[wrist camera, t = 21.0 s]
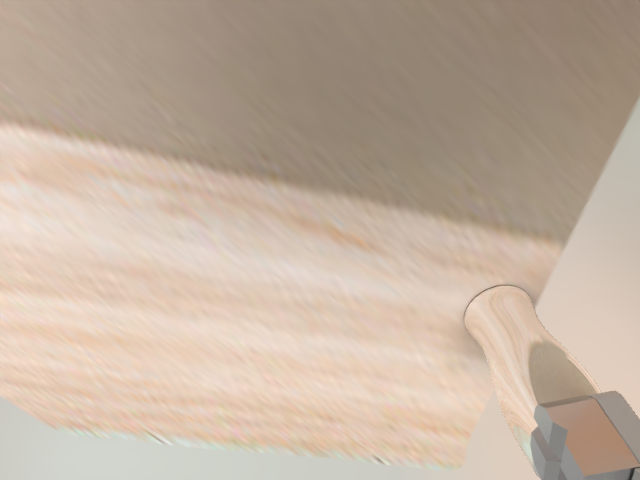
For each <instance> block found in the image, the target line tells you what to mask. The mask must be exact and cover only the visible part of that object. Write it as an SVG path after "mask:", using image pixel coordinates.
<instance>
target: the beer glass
mask: <svg viewBox="0 0 640 480" xmlns="http://www.w3.org/2000/svg"><path fill="white" fill-rule="evenodd" d="M464 323H465V326H466V329H467V330H468V332H469V333H470V334H471V336H472V337H473V338H474V339H475V340H476V341H477V342H478V344H479V345H480V346H481V348H482V349H483V351H484V353H485V356H486V358H487V361H488V365H489V368H490V372H491V376H492V380H493V384H494V388H495V392H496V395H497V398H498V401H499V404H500V407H501V410H502V413H503V415H504V417H505V419H506V421H507V424H508V426H509V428H510V430H511V431H512V433H513V435H514V437H515V439H516V441H517V442H518V444H519V446H520V448H521V449H522V451H523V452H524V454H525V456H526V457H527V459H528V460H529V462H530V464H531V466H532V467H533V469H534V472H535V473H536V475H537V476H538V477H539V478H540V476H539V473H538V471H537V469H536V466H535V464H534V461H533V457H532V451H531V446H530V442H531V432H532V431H533V430H534V429H535V428H536V427H537V426H538V424H537V423H536V421H535V419H534V412H535V408H536V406H537V405H538V404H542V403H547V402H552V401H557V400H562V399H568V398H573V397H578V396H583V395H588V396H589V395H593V394H598V393H602V392H601V390H600V389H599V387H598V386H597V384H596V383H595V381H594V380H593V379H592V377H591V376H590V375H589V373H588V372H587V371H586V369H585V368H584V367H583V366H582V365H581V364H580V363H579V362H578V361H577V360H576V358H575V357H574V356H573V355H572V354H571V353H570V352H568V351H567V349H565V348H564V347H563V346H562V345H561V344H560V343H559V342H558V341H557V340H556V339H555V338H554V337H553V336H552V335H551V334H550V333H549V332H548V331H547V330H546V329H545V328H544V326H543V325H542V324H541V322H540V321H539V319H538V317H537V315H536V312H535V309H534V306H533V304H532V301H531V299H530V297H529V296H528V294H527V293H526V292H525V291H523V290H522V289H520V288H518V287H515V286H508V285H505V286H497V287H493V288H490V289H488V290H486V291H484V292H482V293H481V294H479V295H478V296H477V297H475V298H474V299H473V300H472V302H471V303H470V304H469V306H468V307H467V309H466V312H465V315H464ZM540 479H541V478H540Z"/></svg>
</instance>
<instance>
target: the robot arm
mask: <svg viewBox="0 0 640 480" xmlns="http://www.w3.org/2000/svg"><path fill="white" fill-rule="evenodd" d="M534 419H535V421H536V423H537V424H538V426H537V427H536V428H535V429H534V430H533V431H532V432H531V442H530V446H531V451H532V457H533V461H534V464H535V466H536V469H537V471H538V473H539V476H540V478H541V480H640V419H639V418H638V416H637V415H636V414H635V412H634V411H633V410H632V408H631V407H630V406H629V404H628V403H627V401H626V400H625V399H624V397H623V396H622V395H621V394H620V393H618V392H616V391H609V392H604V393H598V394H593V395H589V396H588V395H583V396H578V397H573V398H568V399H562V400H557V401H552V402H547V403H542V404H538V405H537V406H536V408H535V412H534Z"/></svg>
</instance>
